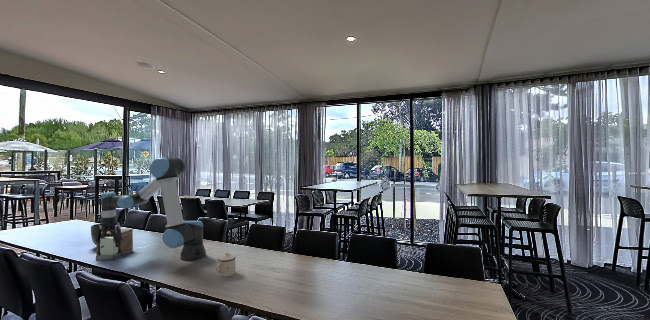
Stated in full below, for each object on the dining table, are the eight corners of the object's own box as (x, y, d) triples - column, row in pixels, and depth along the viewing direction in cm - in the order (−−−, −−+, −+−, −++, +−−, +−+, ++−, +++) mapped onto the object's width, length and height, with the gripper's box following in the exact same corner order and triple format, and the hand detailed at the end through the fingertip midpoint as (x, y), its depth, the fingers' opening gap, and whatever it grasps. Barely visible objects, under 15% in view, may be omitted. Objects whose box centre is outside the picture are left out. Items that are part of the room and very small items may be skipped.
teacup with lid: (227, 269, 168) (226, 249, 168) (239, 272, 164) (239, 251, 164) (210, 277, 157) (209, 255, 157) (222, 280, 153) (222, 257, 153)
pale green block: (117, 253, 192) (117, 236, 192) (112, 256, 187) (111, 238, 187) (105, 254, 192) (105, 237, 192) (99, 256, 187) (99, 239, 187)
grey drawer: (123, 255, 195) (123, 237, 195) (113, 260, 187) (113, 240, 187) (106, 256, 195) (106, 237, 195) (96, 260, 187) (95, 240, 187)
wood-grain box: (132, 250, 207) (132, 228, 207) (120, 256, 195) (120, 233, 195) (109, 250, 207) (109, 229, 207) (96, 256, 195) (96, 233, 195)
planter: (84, 248, 213) (84, 226, 213) (108, 242, 229) (108, 221, 229) (102, 250, 208) (102, 227, 208) (125, 243, 224) (125, 222, 224)
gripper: (129, 215, 194) (129, 250, 194) (97, 215, 194) (97, 250, 194) (121, 217, 187) (121, 253, 187) (87, 217, 187) (88, 254, 187)
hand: (109, 252), depth 190 cm, fingers closed on pale green block, 8 cm apart
